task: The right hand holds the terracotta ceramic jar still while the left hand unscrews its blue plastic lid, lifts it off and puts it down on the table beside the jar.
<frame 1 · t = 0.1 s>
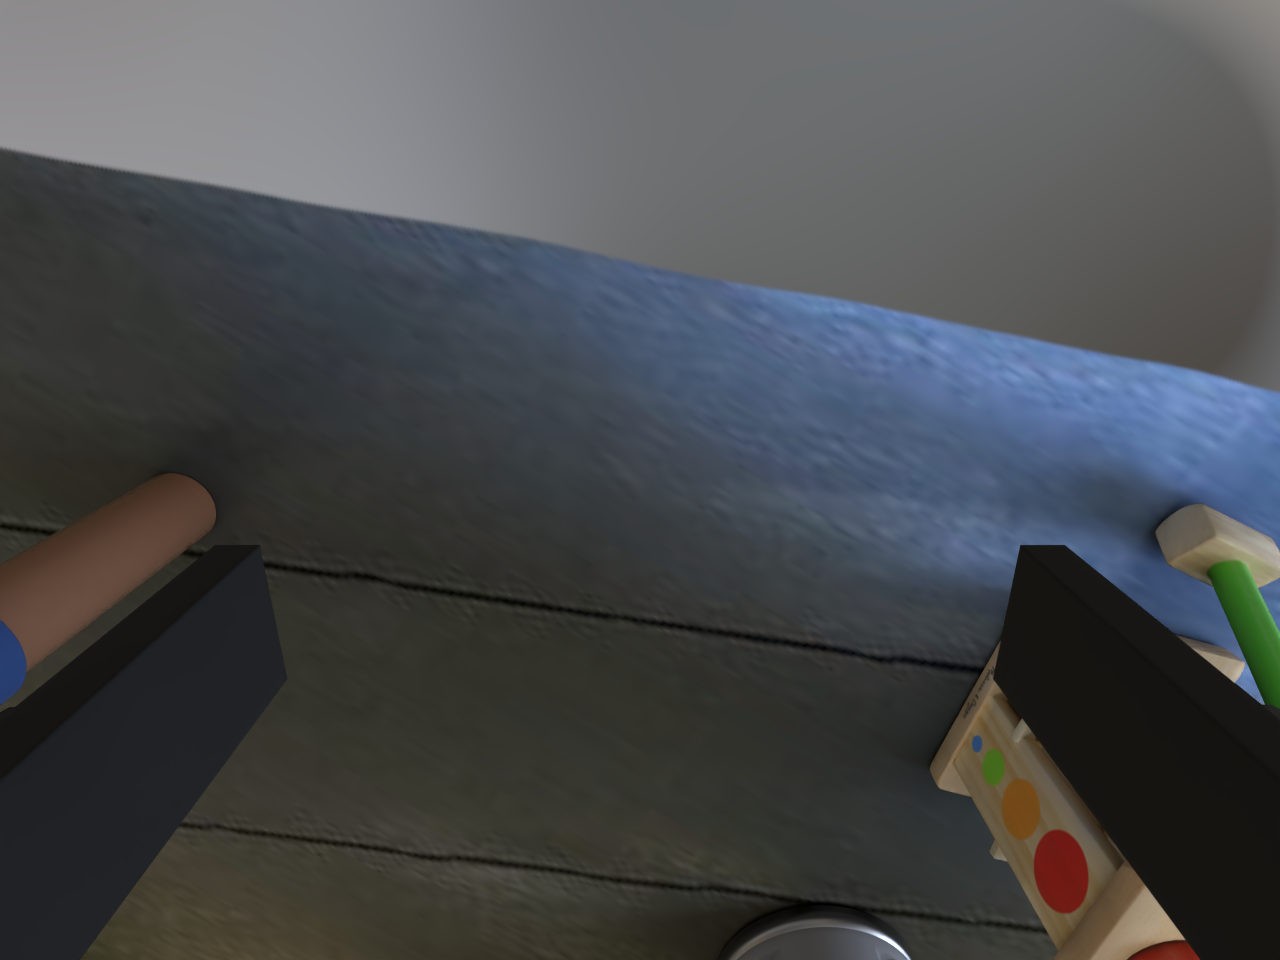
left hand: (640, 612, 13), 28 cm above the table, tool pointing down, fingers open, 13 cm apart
pounding bench toy: (1102, 658, 46), on the table
jar: (179, 507, 43), on the table
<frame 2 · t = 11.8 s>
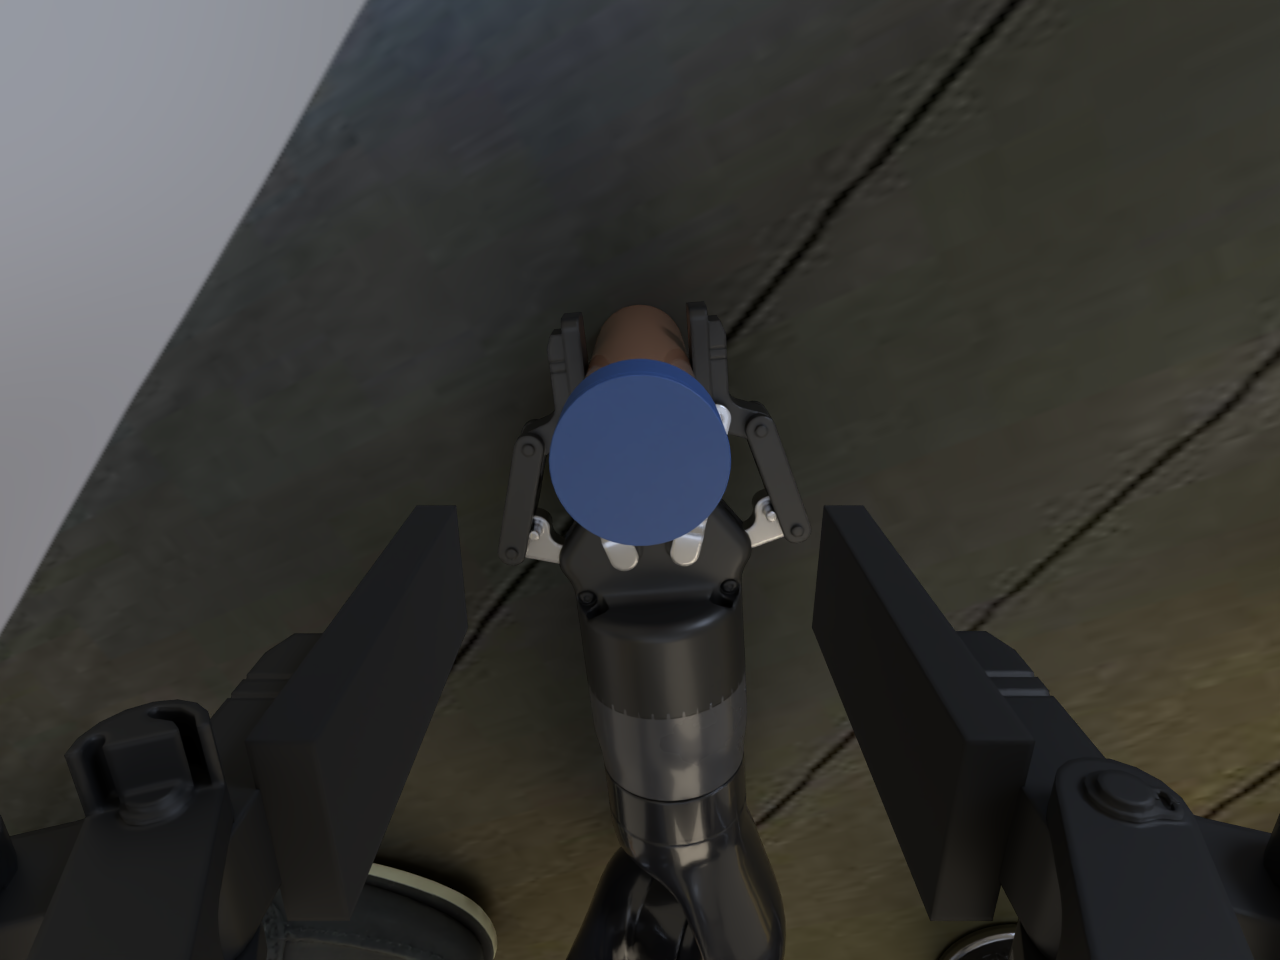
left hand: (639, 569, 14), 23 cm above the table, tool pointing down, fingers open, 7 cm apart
boat shoe: (252, 897, 49), on the table
lid: (639, 460, 20), point 16 cm above the table, screwed on, not yet turned
jar: (639, 349, 36), on the table, touching right hand
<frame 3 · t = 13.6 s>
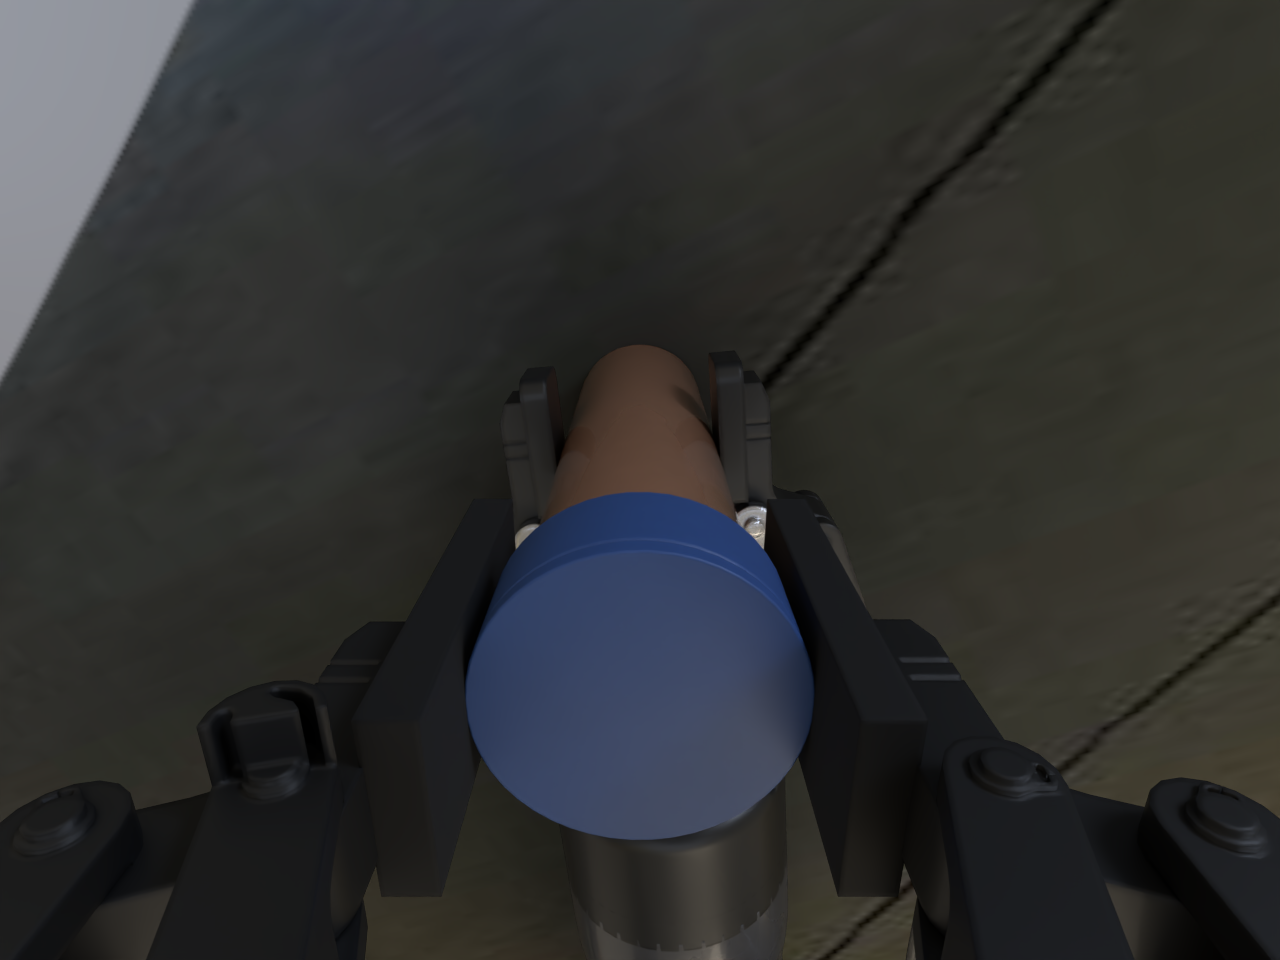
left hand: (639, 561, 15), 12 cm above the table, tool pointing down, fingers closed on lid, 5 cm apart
lid: (639, 692, 11), point 16 cm above the table, screwed on, not yet turned, touching left hand
jar: (640, 404, 26), on the table, touching right hand
when the left hand's fingers open (12 cm above the table, at t = 14.9 s): lid stays where it is, point 17 cm above the table.
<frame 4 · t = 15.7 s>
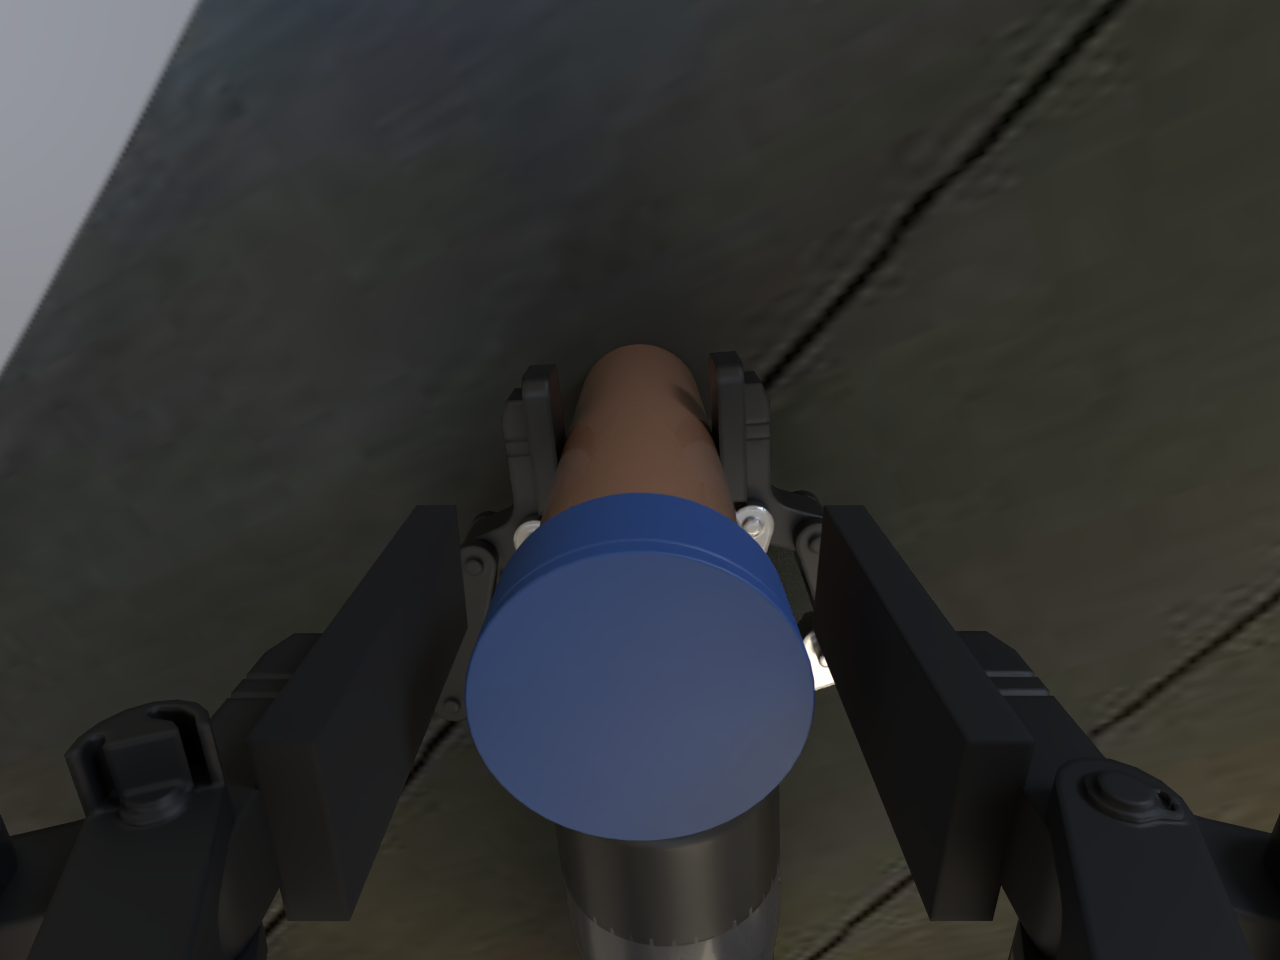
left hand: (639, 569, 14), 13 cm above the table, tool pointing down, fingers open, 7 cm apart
lid: (639, 693, 11), point 17 cm above the table, turned 82° so far, risen 0.2 cm, still on its thread
jar: (639, 403, 26), on the table, touching right hand
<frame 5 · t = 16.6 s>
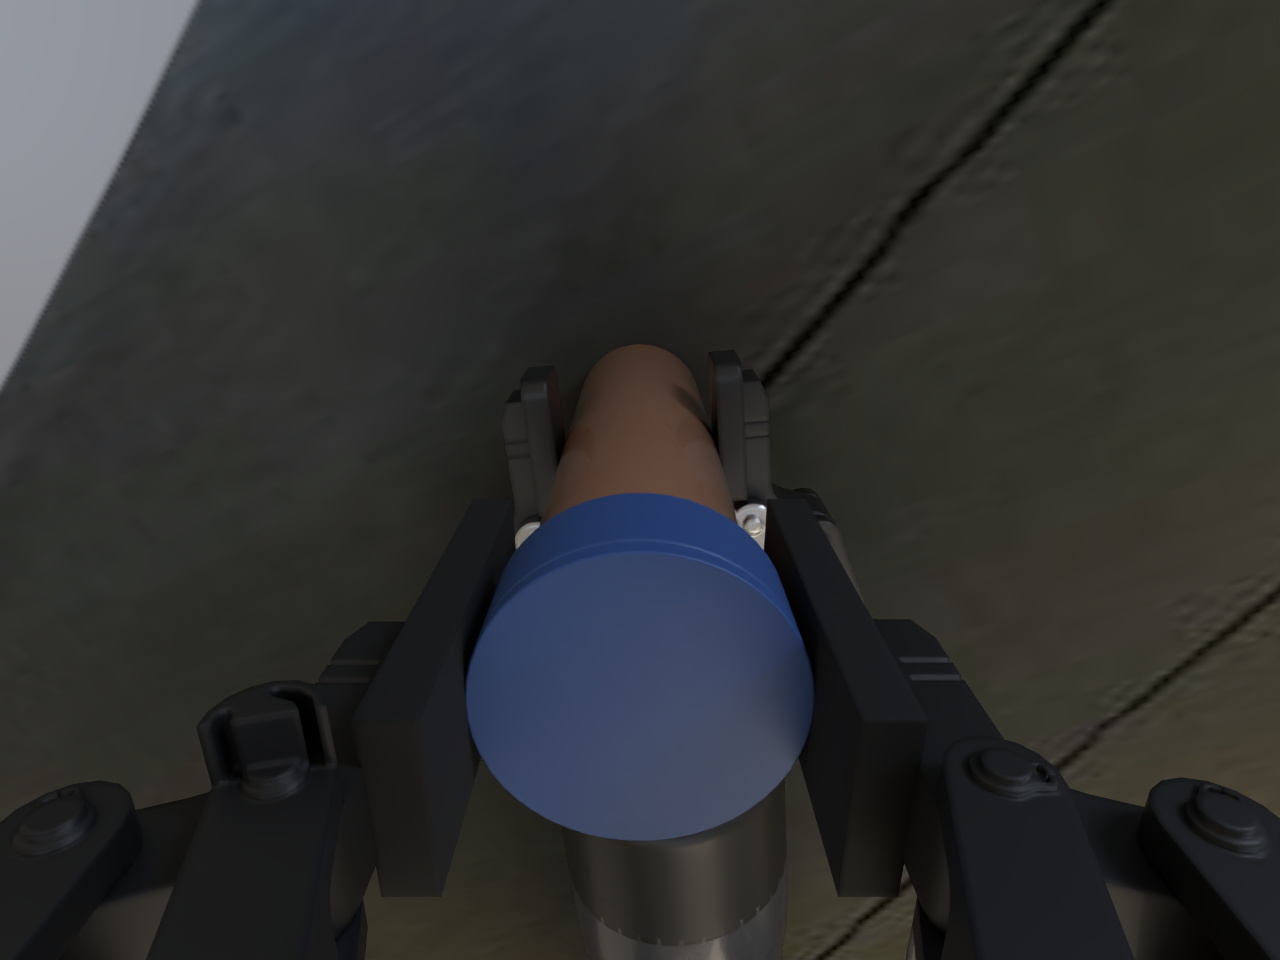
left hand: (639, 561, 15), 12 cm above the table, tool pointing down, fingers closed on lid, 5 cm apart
lid: (639, 693, 11), point 17 cm above the table, turned 82° so far, risen 0.2 cm, still on its thread, touching left hand
jar: (639, 403, 26), on the table, touching right hand
when the left hand's fingers open (0 cm above the table, at t = 24.1 s): lid drops 3 cm, point 2 cm above the table.
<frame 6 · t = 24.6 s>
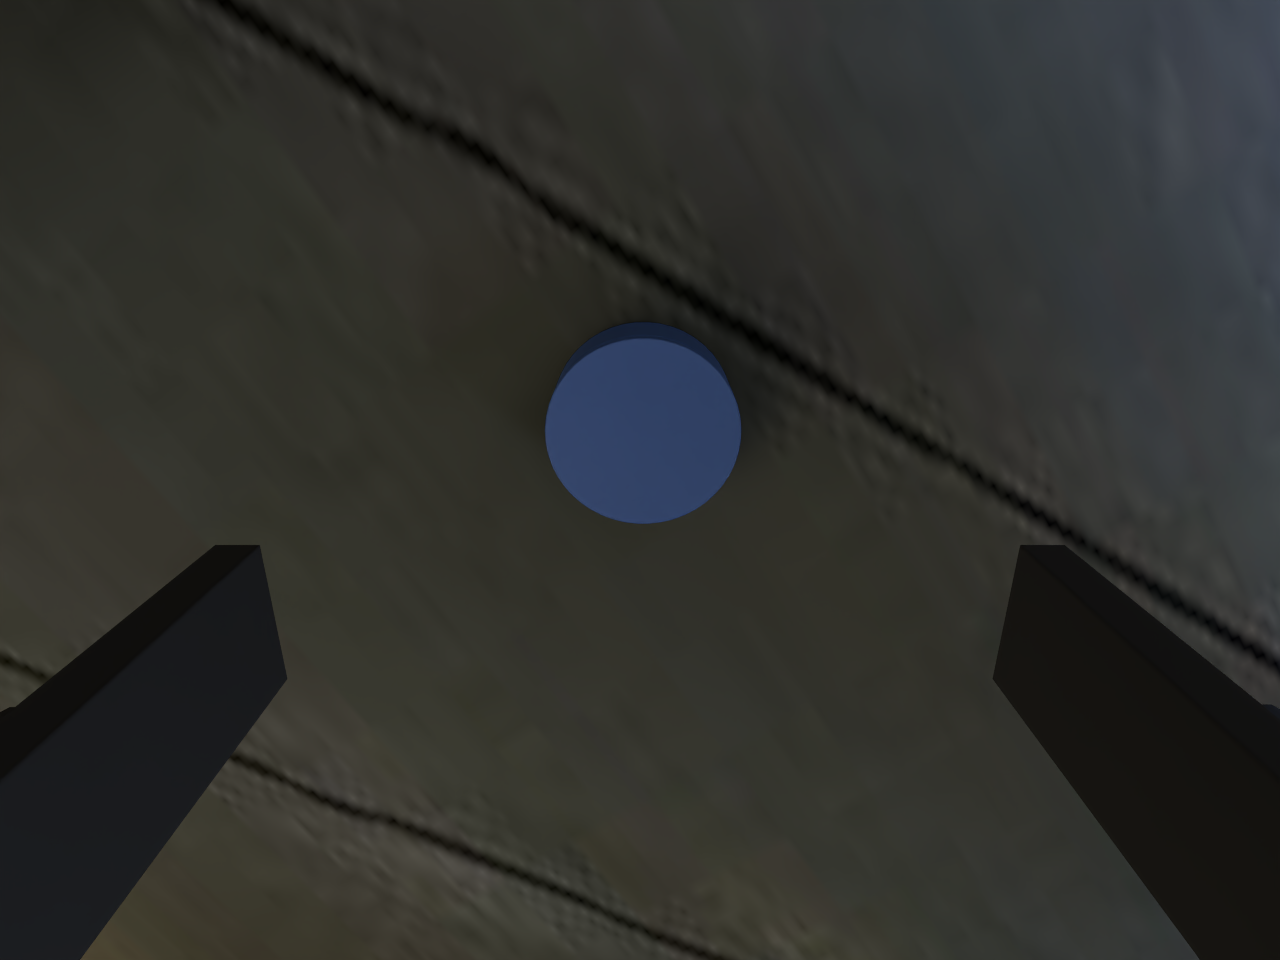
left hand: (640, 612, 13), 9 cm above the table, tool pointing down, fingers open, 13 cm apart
lid: (643, 431, 19), point 2 cm above the table, off its thread
when the right hand's fingers open (6 cm above the table, at t = 24.7 s): jar stays where it is, on the table.
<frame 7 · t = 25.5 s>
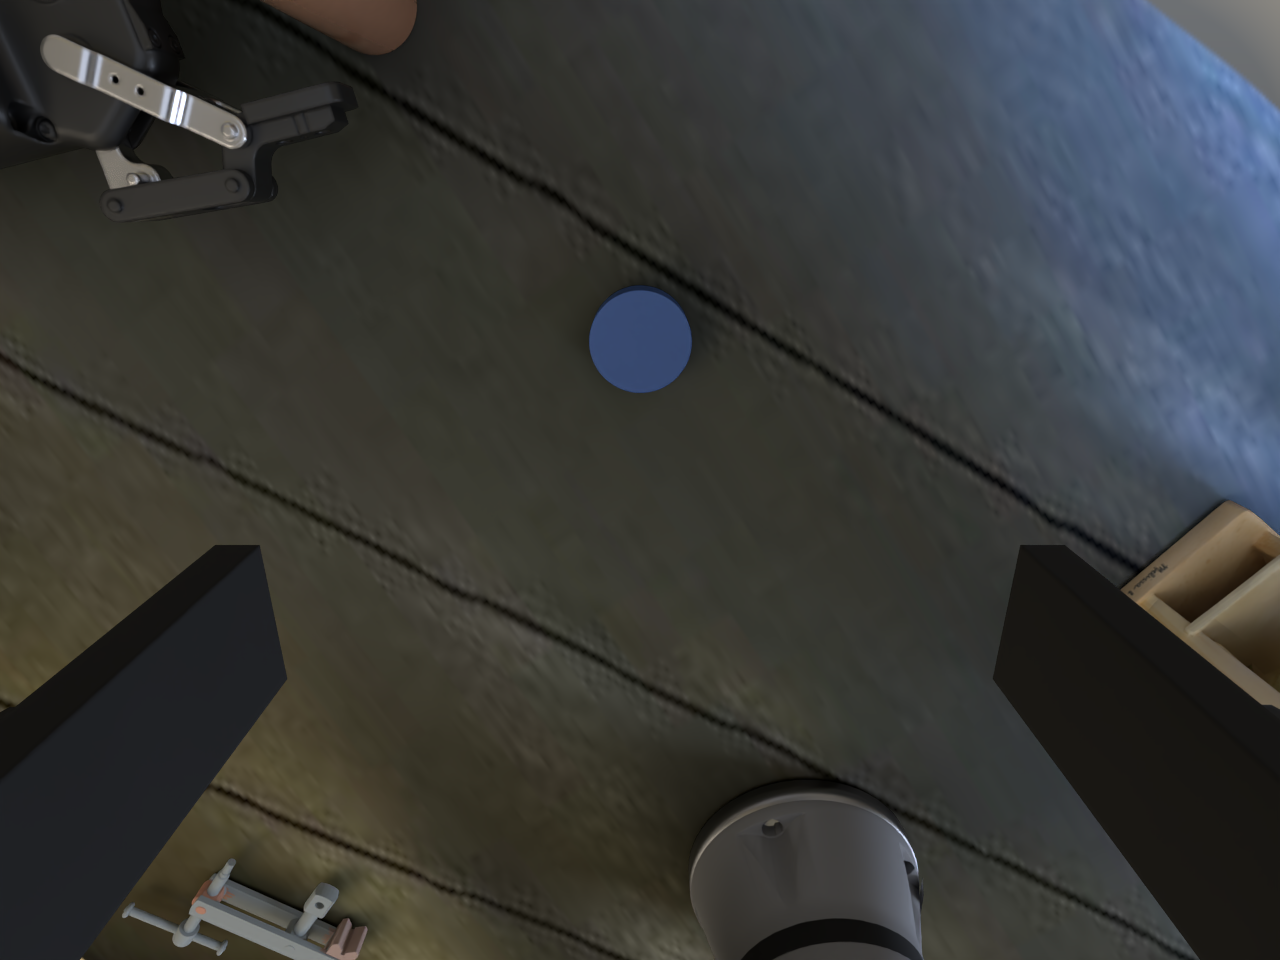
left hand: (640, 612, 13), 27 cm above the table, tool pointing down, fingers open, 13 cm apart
pounding bench toy: (1255, 599, 43), on the table
lid: (640, 341, 36), point 2 cm above the table, off its thread
clamp: (262, 898, 52), on the table
jar: (368, 0, 32), on the table
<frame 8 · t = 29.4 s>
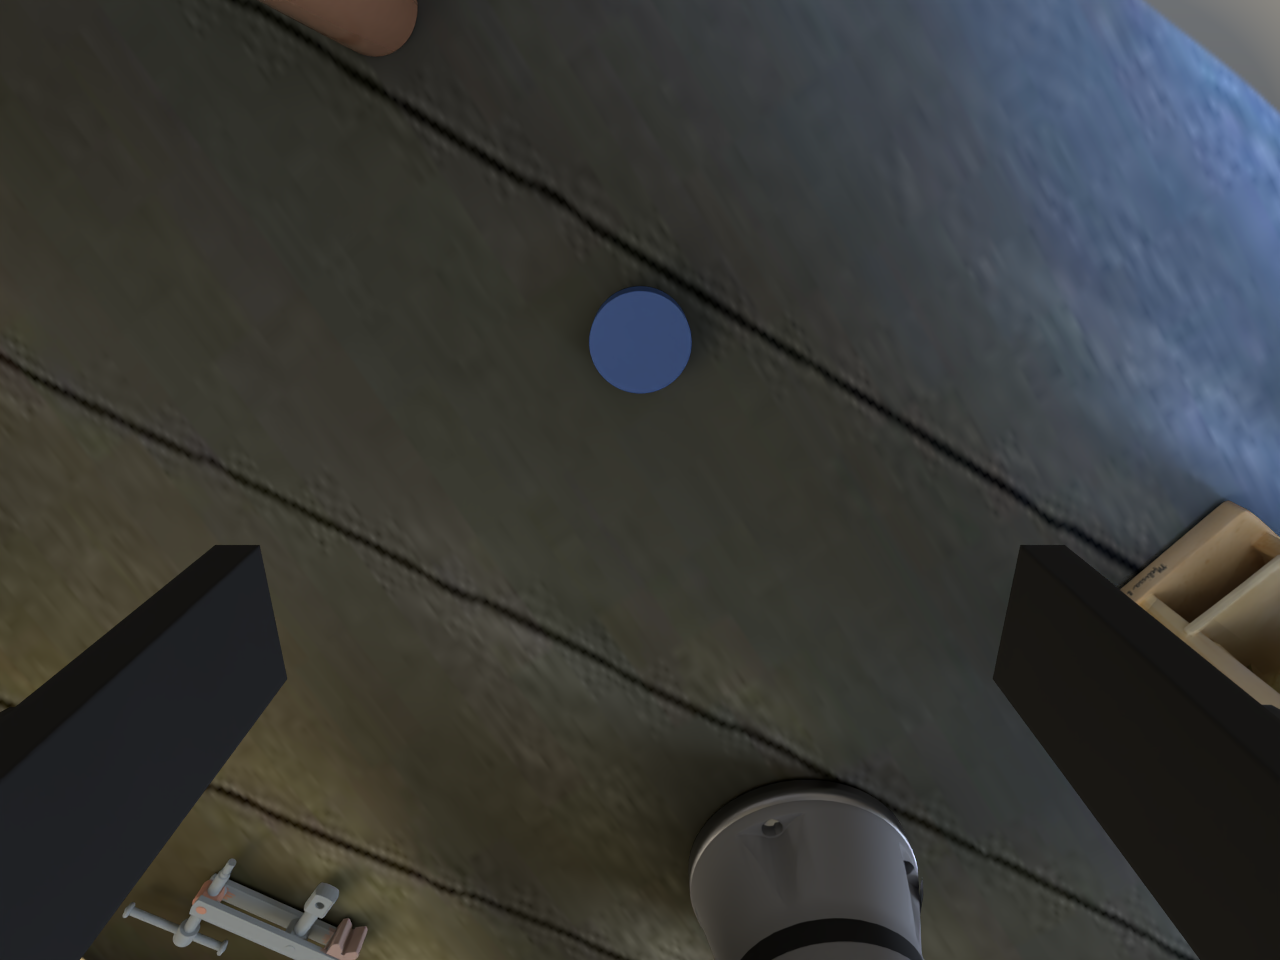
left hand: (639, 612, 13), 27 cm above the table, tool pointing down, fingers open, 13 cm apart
pounding bench toy: (1254, 599, 43), on the table
lid: (640, 342, 36), point 2 cm above the table, off its thread
clamp: (262, 898, 52), on the table
jar: (369, 1, 32), on the table
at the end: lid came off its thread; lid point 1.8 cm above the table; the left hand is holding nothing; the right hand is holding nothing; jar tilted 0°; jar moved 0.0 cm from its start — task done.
